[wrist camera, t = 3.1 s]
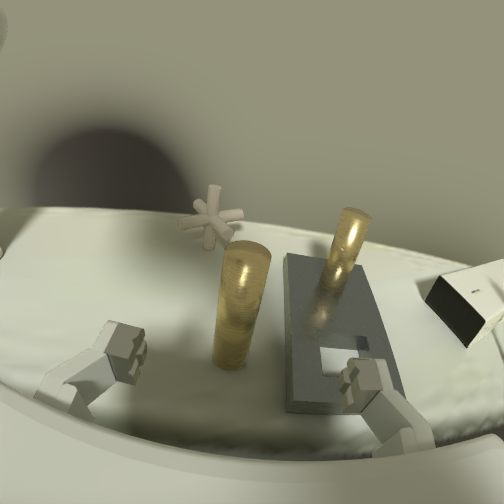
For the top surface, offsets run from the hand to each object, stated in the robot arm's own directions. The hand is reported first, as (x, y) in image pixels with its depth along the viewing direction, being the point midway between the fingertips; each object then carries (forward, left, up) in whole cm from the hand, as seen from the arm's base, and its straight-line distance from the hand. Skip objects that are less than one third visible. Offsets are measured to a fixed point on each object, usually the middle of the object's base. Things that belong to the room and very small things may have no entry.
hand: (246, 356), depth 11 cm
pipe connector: (-23, +23, -16) cm, 37 cm away
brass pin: (-7, +10, -16) cm, 20 cm away
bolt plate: (-1, +22, -16) cm, 27 cm away
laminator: (+22, +50, -17) cm, 58 cm away
